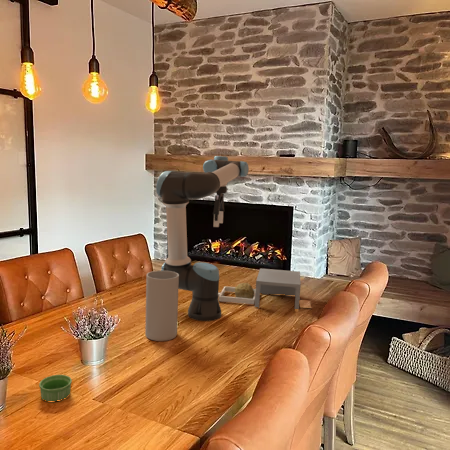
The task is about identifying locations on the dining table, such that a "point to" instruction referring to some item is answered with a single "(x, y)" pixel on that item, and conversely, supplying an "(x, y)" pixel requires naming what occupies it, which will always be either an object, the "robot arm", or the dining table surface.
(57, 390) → the ramekin
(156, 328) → the cylinder vase
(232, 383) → the dining table surface
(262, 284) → the tunnel
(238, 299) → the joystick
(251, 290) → the rock
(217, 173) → the robot arm
